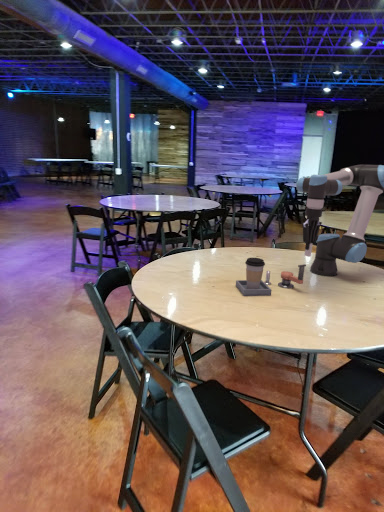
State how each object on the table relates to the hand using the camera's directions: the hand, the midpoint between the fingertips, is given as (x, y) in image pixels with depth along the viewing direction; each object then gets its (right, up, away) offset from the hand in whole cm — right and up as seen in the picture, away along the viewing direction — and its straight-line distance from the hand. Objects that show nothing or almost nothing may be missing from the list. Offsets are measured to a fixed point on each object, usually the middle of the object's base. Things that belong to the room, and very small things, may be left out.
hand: (307, 255), depth 168 cm
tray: (-27, -17, 0) cm, 32 cm away
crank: (-6, -12, +5) cm, 15 cm away
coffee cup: (-27, -17, 0) cm, 32 cm away
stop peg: (-17, -15, +11) cm, 25 cm away
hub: (-8, -16, +9) cm, 20 cm away
